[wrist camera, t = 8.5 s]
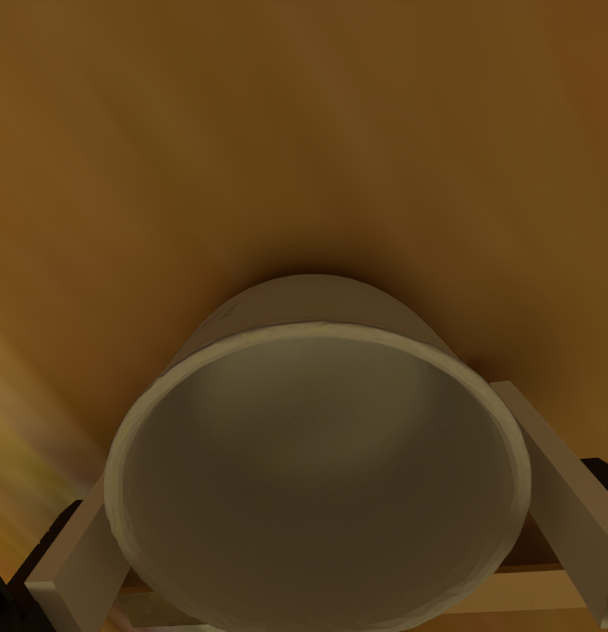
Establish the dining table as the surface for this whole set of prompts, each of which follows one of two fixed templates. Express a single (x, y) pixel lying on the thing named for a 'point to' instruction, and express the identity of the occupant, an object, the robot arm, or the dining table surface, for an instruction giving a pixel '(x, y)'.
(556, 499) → the robot arm
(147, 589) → the stop bar
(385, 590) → the teacup
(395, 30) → the dining table surface
